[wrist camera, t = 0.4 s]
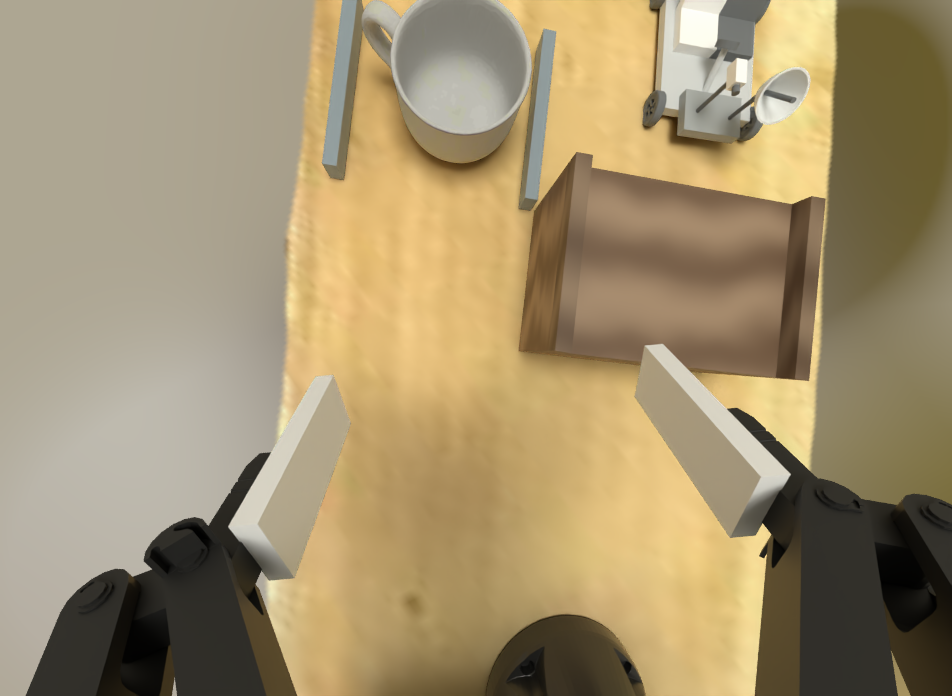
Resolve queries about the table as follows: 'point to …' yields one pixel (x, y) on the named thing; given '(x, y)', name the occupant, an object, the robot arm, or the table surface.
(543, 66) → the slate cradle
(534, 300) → the walnut stand
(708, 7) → the toy rover
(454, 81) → the teacup
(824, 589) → the robot arm
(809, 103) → the table surface
